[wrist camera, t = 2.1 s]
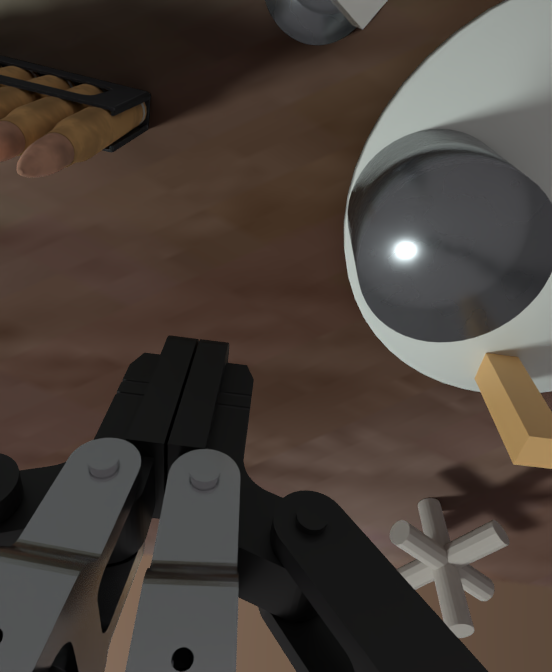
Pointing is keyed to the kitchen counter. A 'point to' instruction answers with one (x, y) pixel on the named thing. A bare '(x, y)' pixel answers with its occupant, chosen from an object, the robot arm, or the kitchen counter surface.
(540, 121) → the platter
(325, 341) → the kitchen counter surface
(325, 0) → the stand
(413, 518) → the kitchen counter surface
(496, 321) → the cover
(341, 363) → the kitchen counter surface
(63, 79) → the ammunition clip
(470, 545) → the pipe connector
